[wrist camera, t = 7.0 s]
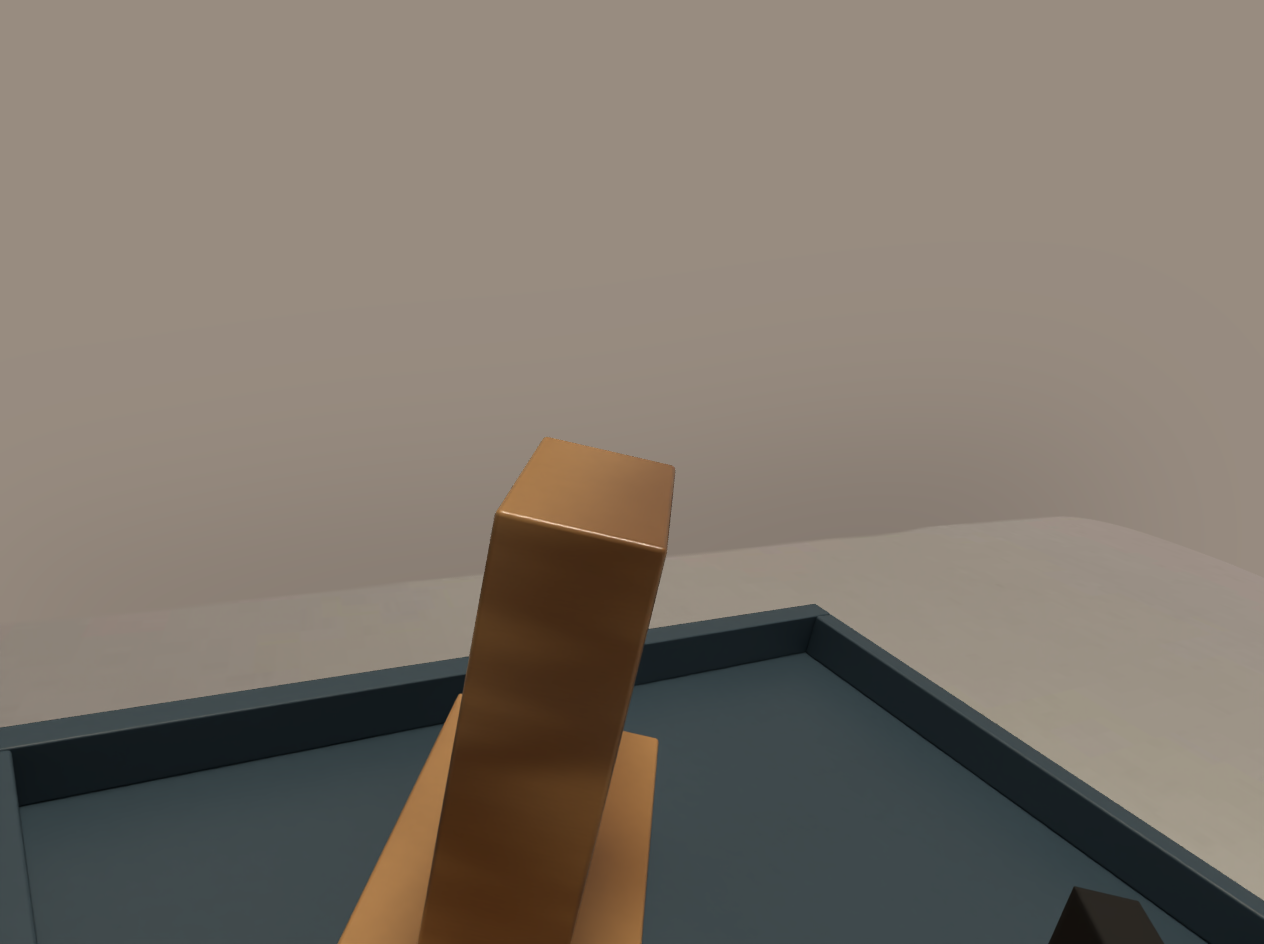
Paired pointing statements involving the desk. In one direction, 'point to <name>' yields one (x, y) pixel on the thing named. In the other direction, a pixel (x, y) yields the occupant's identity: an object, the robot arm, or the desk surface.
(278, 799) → the tray
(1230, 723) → the desk surface
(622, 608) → the wooden block on base
